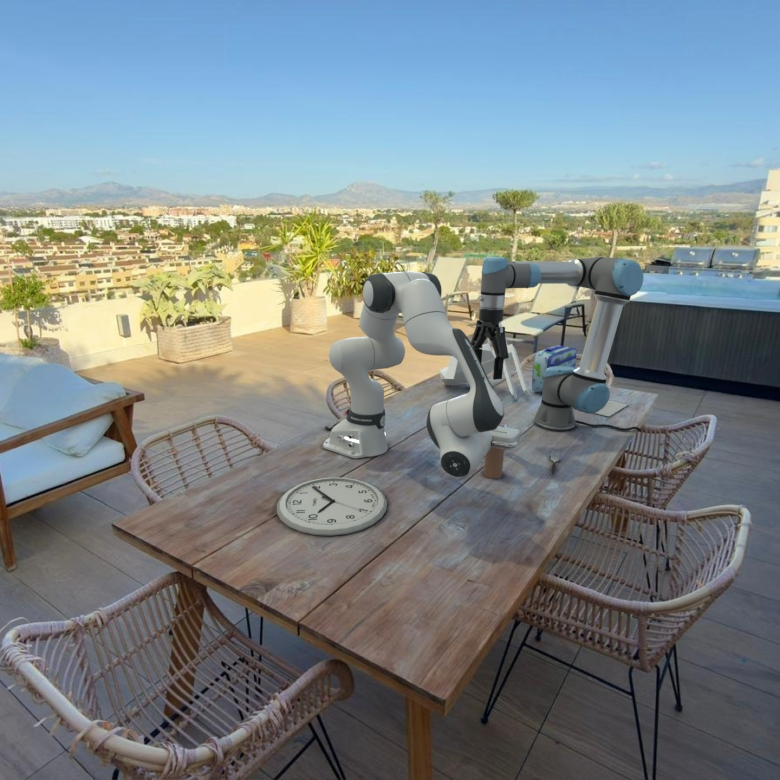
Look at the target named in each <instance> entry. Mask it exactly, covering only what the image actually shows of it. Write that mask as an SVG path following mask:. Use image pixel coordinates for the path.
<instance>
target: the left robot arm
mask: <svg viewBox="0 0 780 780" xmlns="http://www.w3.org/2000/svg"><path fill="white" fill-rule="evenodd" d="M442 290H443V289H442V284H441V281H440V280H439V278H438V276H437V275H435V274H434V273H430V272H427V271H422V272H419V271H405V270H404V271H403V270H402V271H395V272H377V273H373V274H370V275H368V276H367V278H366V279H365V281H364V284H363V286H362V300H363V304H362V307H361V312H360V315H359V319H358V323H359V328H360V330H361V331H362V332H363V334H365V336H358V337H346V338H344V339H340V340H337V341H334V342H333V343H332V344H331V345H330V347H329V350H328V360H329V364H330V365H331V366H332V368H333V370H335V371H336V372H338V373H339V374H340V375H342V377H344V379H345V381H346V382H347V385H348V387H349V394H350V407H349V408H347V409H346V410H345V411H344V412H343V416H346V417H345V418H344V419H343V420H340V421H338V420H337V421H336V423H334V424H333V425H332V426H331V427H328V426H326V425H325V427H324V428H325V430H327V431H330V433H329V437H328V438H326V439H325V440H324V442H323V444H322V448H323V449H325V450H328V451H331V452H334V453H336V454H340V455H342V456H345V457H349V458H352V459H357V460H358V459H362V458H367V457H369V458H370V457H377V456H380V455H383V454H385V453H386V452H387V451H388V450H389V446H388V442H387V438H386V435H387V434H386V432H385V426H386V409H385V389H384V387H383V385H382V384H381V383H380V382H379V381H377V380H375V379H373V378H370V375H369V371H376V370H384V369H389V368H393V367H396V366H399V365H401V364H402V363H403V361H404V360H405V356H406V347H405V344H404V342H403V340H402V339H401V338H400V337H398V336H397V335H396V334H395V329H396V325H397V322H398V318H399V315H400V314H401V315H402V320H403V326H404V329H405V334H406V337H407V341H408V342H409V344H410V346H411V347H412V348H413V349H414V350H415V351H417V352H418V353H420V354H423V355H428V356H445V357H446V356H449V357H451V356H454V357H455V358H456V359H457V360H458V362H459V364H460V366H461V368H462V370H463V372H464V375H465V377H466V379H467V381H468V385H469V391H468V392H467V393H463V394H461V395H458V396H456V397H453V398H448V399H446V400H443V401H440V402H437V403H435V404H433V405H431V407H430V408H429V410H428V412H427V417H426V423H425V424H426V429H427V432H428V435H429V437H430V439H431V441H432V442H433V444H434V445H435V446H436V447H437V448H438V449H439V463H440V466H441V469H442V470H443V471H444V472H445V473H446V474H448V475H450V476H451V477H456V478H463V477H464V478H465V477H467V476H468V475H470V474H472V473H473V472H474V471H475V470H476V469H478V467H479V466H480V464H481V462H482V461H483V459H485V456H486V454H487V453H488V451H489V450H490V448H491V447H493V448H498V449H504V451H512V450H513V449H515V448H516V447H517V446H518V445H519V444H520V442H521V434H522V433H521V430H520V429H518V428H512V427H509V426H508V424H507V423H505V424H502V425H501V426H499V424H500V423H501V422H503V421H502V420H503V419H504V417H505V409H504V406H503V403H502V401H501V399H500V397H499V395H498V394H497V392H496V391H495V389H494V387H493V385H492V383H491V382H490V380H489V378H488V374H487V375H486V373H485V371H484V369H483V367H482V365H481V363H480V361H479V358H478V356H477V354H476V352H475V350H474V348H473V346H472V344H471V340H470V339H469V337H468V336H467V334H466V333H465V331H463V330H462V329H461V328H457V327H454V326H453V325H452V324H451V322H450V320H449V318H448V314H447V312H446V308H445V305H444V302H443V300H442V293H443V292H442Z"/></svg>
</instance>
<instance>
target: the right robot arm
mask: <svg viewBox="0 0 780 780" xmlns="http://www.w3.org/2000/svg"><path fill="white" fill-rule="evenodd" d="M481 267H482V268H481V281H480V297H479V307H480V308H479V309H478V310H479V311H478V319H477V320H476V324H475V329H474V332H473V335H472V337H471V340H470V343H471V344H472V346H473V348H474V350H475V352H476V354H477V356H478V358H479V361H480V363H481V361H482V349H480V348H482V345H483V344H485V342H486V341H487V339H488V340H489V341H490V342H491V344H492V349H493V350H494V352H495V355H496V358H495V361H494V370H493V374H492V380H502V379H503V372H504V370H503V362H504V359H506V358H508V357H509V356H508V350H507V344H508V343H507V344H506V340H507V337H506V327H505V326H502V327H499V322H501V323H502V321H503V320H504V312H505V310H504V308H505V302H506V300H505V299H506V291H507V289H531V288H536V287H537V286H538V285H541V284H542V285H543V284H544V285H545V284H547V285H550V284H552V285H553V284H557V285H559V284H560V285H561V284H567V285H568V286H569V287H579V288H585V289H589V290H594V293H593V296H594V297H595V299H596V304H595V308H594V311H593V314H592V319H591V322H590V325H589V330H588V334H587V337H586V340H585V344H584V348H583V351H582V355H581V359H580V361H579V365H578V367H577V368H576V367H575V368H574V367H566V366H556V367H549V368H547V369H546V370H545V374H544V380H543V391H542V393H541V402H540V405H539V407H538V410H537V411H536V413H535V417H534V424H535V425H536V426H537V427H539V428H542V429H544V430H549V431H556V432H567V431H572V430H574V429H575V428H576V424H578V425H579V424H580V425H583V426H587V427H591V428H600V427H601V428H611V429H614V430H617V431H623V432H625V431H631V430H637V432H642V429H641V428H640V427H638V426H630V427H620V426H615V425H612V424H605V423H601V424H595V423H594V424H593V423H588V422H584V421H580V420H578V419H576V418H575V417H576V416H575V413H574V409H575V410H577V411H579V412H583V413H585V414H589V415H590V414H591V415H593V414H596V412H598V411H599V410H600V409H602V408H603V407H604V406H605V405H606V404H607V402H608V400H610V395H611V392H610V388H609V387H608V385H606V383H607V380H608V377H607V376H606V374H605V370H606V367H607V365H608V364H607V363H608V360H609V356H610V353H611V349H612V346H613V343H614V338H615V336H616V332H617V328H618V326H619V321H620V319H621V314H622V311H623V307H624V306H625V305H626V304H628V303H630V301H631V297H632V296H634V295H636V294H638V292H639V291H640V290H641V289H642V287H643V283H644V278H645V277H644V276H645V275H644V271H643V269H642V266H641V265H640V264H639V262H637V261H636V260H633V259H630V258H629V259H628V258H626V257H625V258H623V257H606V256H595V257H586V258H572V259H569V260H568V261H528V260H527V261H523V260H522V261H521V260H519V261H518V260H512V261H510V260H508V258H507V257H499V256H496V257H495V256H487V257H485V258H484V259H483V261H482V266H481ZM505 337H506V338H505Z"/></svg>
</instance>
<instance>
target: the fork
mask: <svg viewBox="0 0 780 780" xmlns="http://www.w3.org/2000/svg"><path fill="white" fill-rule="evenodd" d="M550 460H551V461H552V462H553V463H552V464H551V475H554V472H555V470H556V467H557V466H556V462H559V461H560V453H558V452H556V451H554V450H552V451H551V456H550Z"/></svg>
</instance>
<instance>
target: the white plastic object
mask: <svg viewBox="0 0 780 780" xmlns="http://www.w3.org/2000/svg"><path fill="white" fill-rule="evenodd" d="M499 327H503V325H502V321H501V322H499ZM505 338H506V344H507V350H508V356H509V357H508V358H506V359H504V362H503V373H504V376H505V380H506V383H507V386H508V390H509V393H510V394H511V395H512V397H513V398H514V399H515V400H517V392H516V391H517V390H516V388H515V385H514V381H513V378H512V375H511V371H510V369H509V365H508V361H510V360H513V363H514V366H515V369H516V372H517V376H518V380H519V382H520V385H521V389H522V391H523V393H524V395H525V396H526V397H528V396H531V395H530V390H529V388H528V387H529V386H528V384H527V381H526V378H525V375H524V371H523V369H522V368H523V367H522V366H521V362H520V359H519V355H518V352H517V349H516V347H515V346H514V345H513V343H511V344H508V341H507V337H506V336H505ZM480 349H482V361H481V365H482V367H483V369H484V371H485V373H486V375H487V376H488V375H489V374H490V373H492V372H494V361H495V358H496V355H495V352H494V349H493V347H491V346H490V344H489V343H488V342H487V343H483V345H482V348H480ZM438 372H439V376H440V381H442V383H443V384H444V385H445V386H449V385H458V384H467V383H468V381H467V379H466V377H465V375H464V372H463V370H462V368H461V366H460V364H459V362H458V360H457V359H456V358H455V357H454V356H449V362H448V366H446V367H444V368H442V369H440V370H439V371H438ZM468 384H469V383H468Z"/></svg>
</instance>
